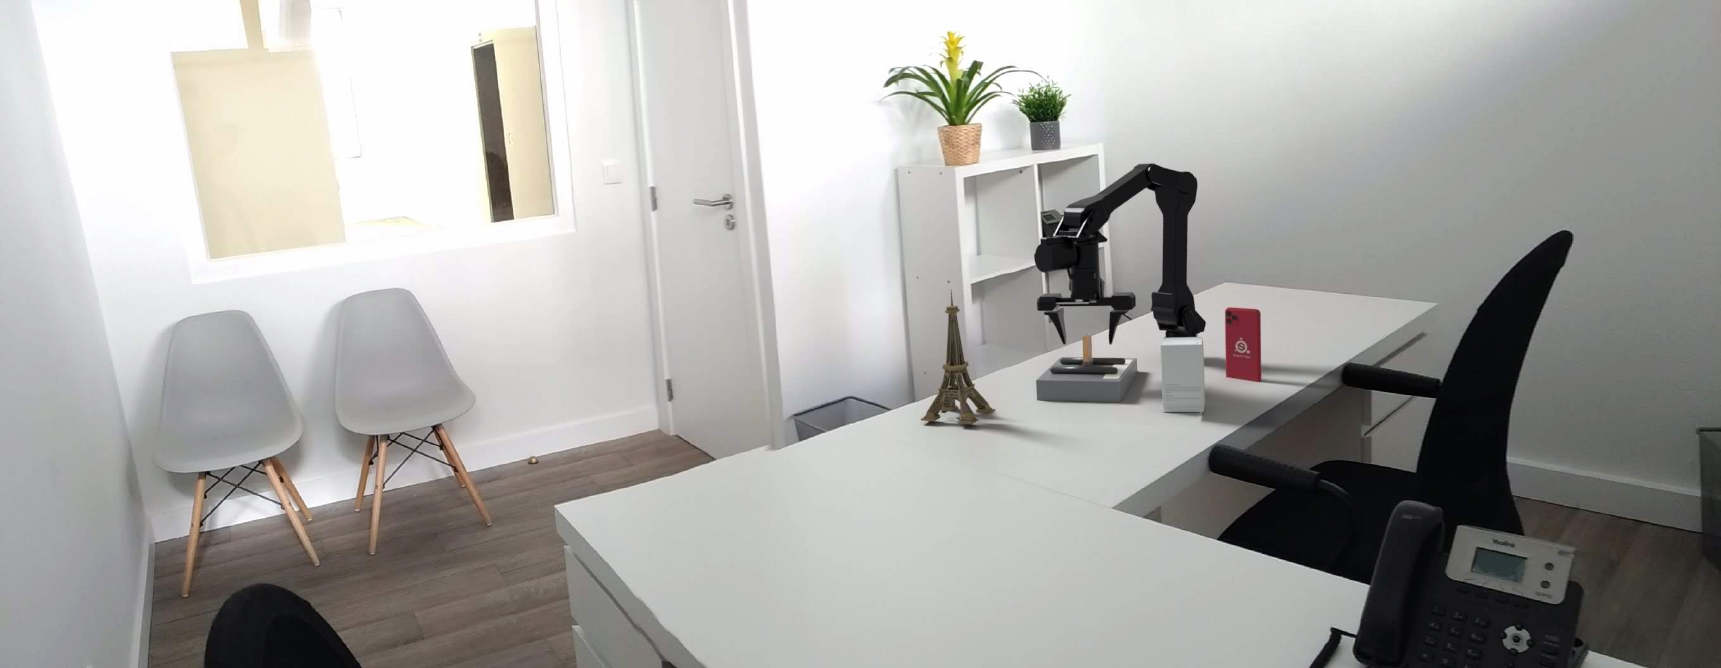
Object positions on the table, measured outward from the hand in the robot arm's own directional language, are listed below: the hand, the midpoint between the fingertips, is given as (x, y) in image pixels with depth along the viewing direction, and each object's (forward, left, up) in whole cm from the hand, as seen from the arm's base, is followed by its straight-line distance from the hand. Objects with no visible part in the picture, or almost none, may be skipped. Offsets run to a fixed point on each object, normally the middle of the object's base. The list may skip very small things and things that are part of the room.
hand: (1087, 344), depth 217 cm
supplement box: (-20, +14, -9) cm, 26 cm away
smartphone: (-29, -7, -9) cm, 31 cm away
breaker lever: (0, 0, -5) cm, 5 cm away
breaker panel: (0, 0, -9) cm, 9 cm away
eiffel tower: (+20, +24, -9) cm, 33 cm away
